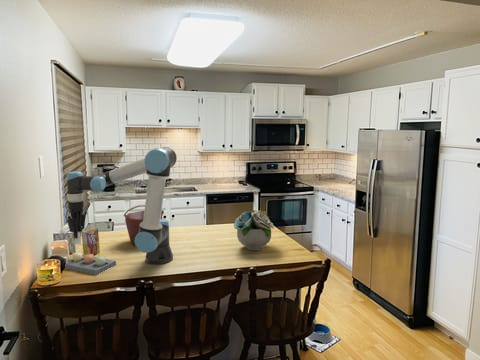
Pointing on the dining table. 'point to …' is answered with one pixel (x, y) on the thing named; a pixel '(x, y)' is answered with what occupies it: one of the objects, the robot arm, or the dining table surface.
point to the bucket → (134, 222)
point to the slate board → (89, 266)
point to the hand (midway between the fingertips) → (77, 243)
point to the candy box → (90, 241)
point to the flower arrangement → (253, 229)
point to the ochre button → (77, 257)
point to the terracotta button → (88, 259)
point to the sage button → (100, 261)
